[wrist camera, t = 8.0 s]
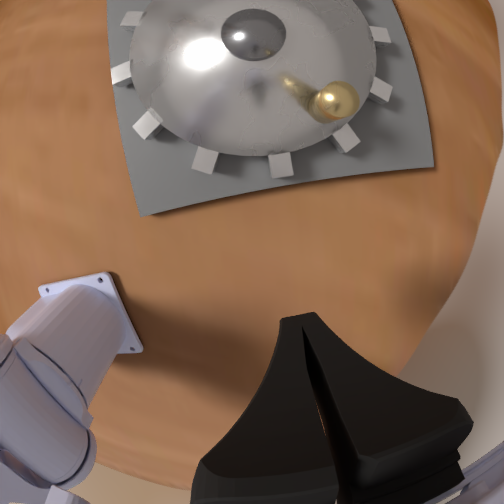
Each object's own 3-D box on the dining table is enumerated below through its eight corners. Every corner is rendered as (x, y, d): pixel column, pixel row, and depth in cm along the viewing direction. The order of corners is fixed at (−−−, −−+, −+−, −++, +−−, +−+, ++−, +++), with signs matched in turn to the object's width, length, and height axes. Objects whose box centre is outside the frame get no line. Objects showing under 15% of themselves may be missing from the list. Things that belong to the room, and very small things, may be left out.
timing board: (145, 213, 18) (139, 217, 17) (112, -16, 11) (106, -21, 9) (426, 165, 17) (435, 167, 15) (358, -49, 9) (362, -56, 8)
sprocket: (337, 217, 17) (364, 238, 13) (87, 139, 15) (47, 140, 10) (404, 12, 11) (434, -9, 7) (181, -53, 9) (169, -84, 5)
